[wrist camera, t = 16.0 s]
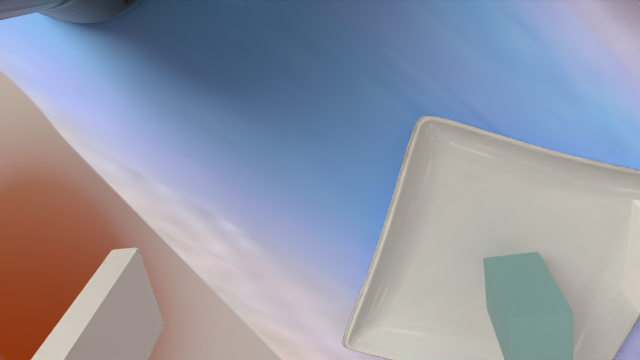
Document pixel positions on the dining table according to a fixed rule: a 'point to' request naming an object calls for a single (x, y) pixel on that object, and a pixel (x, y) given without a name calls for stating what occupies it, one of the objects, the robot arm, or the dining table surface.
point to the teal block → (527, 308)
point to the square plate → (492, 244)
